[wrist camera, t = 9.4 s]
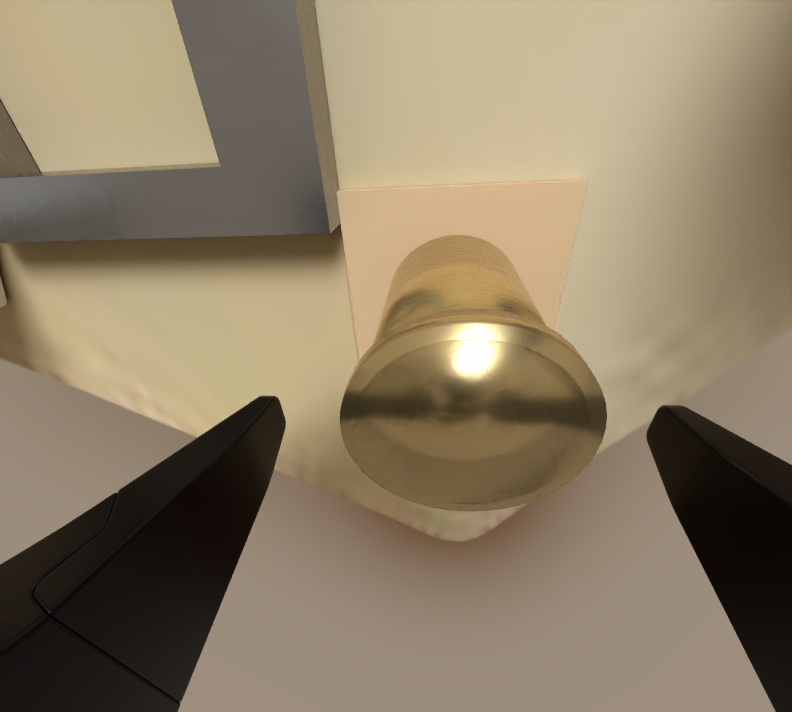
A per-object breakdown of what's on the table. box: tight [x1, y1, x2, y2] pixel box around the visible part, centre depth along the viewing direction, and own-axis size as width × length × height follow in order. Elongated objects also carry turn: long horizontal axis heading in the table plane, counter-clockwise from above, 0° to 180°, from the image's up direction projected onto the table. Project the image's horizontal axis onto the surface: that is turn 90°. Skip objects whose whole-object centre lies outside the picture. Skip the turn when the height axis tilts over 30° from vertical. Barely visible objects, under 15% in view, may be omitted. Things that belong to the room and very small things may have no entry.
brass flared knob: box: [340, 235, 607, 511], centre depth 10 cm, size 6×6×7 cm
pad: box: [336, 180, 588, 361], centre depth 13 cm, size 8×8×1 cm
